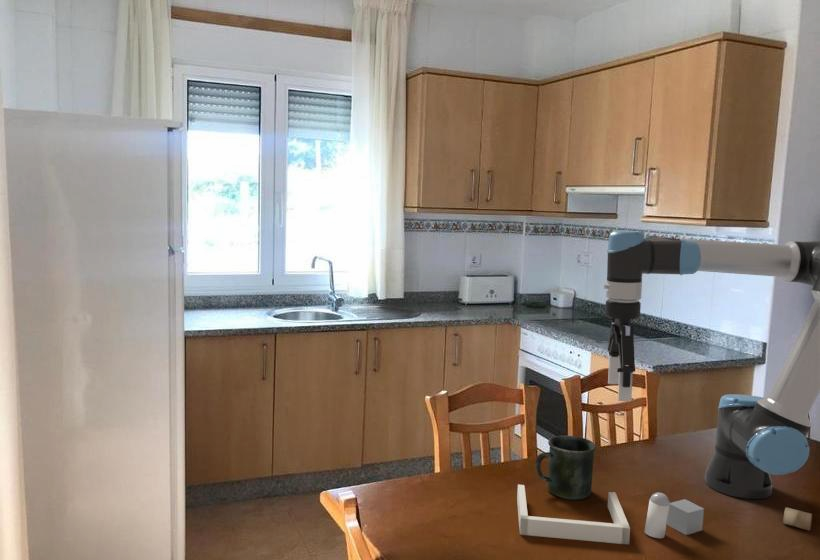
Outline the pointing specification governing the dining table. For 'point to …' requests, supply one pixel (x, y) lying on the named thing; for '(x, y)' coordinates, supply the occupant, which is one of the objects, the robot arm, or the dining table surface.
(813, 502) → the dining table surface
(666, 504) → the cylinder
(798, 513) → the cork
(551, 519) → the corral
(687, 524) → the grey box
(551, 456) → the mug
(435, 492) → the dining table surface
